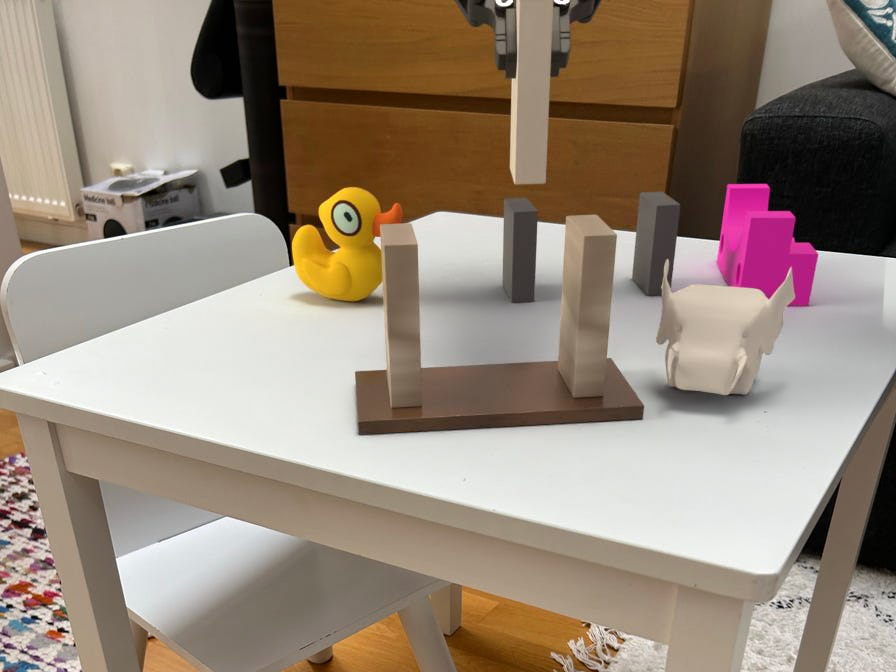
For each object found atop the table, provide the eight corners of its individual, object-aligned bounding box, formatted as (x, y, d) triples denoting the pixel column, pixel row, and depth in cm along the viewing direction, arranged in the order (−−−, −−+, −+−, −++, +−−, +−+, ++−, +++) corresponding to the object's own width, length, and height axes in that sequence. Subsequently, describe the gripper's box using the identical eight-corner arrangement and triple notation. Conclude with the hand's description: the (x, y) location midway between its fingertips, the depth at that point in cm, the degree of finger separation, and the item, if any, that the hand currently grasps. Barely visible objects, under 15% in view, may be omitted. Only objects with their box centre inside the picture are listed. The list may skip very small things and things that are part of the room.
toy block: (808, 305, 90) (825, 217, 86) (737, 305, 91) (751, 217, 86) (778, 262, 102) (792, 183, 98) (716, 262, 103) (727, 184, 99)
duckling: (416, 296, 96) (413, 184, 90) (393, 312, 92) (388, 196, 86) (312, 287, 100) (302, 179, 94) (286, 302, 96) (274, 190, 90)
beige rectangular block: (539, 168, 74) (545, -7, 68) (545, 183, 69) (553, -4, 63) (509, 169, 74) (513, -6, 68) (514, 184, 69) (519, -3, 63)
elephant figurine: (627, 411, 71) (640, 283, 66) (658, 357, 80) (672, 241, 75) (766, 427, 68) (790, 294, 63) (782, 369, 77) (805, 249, 72)
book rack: (610, 370, 78) (623, 206, 71) (643, 419, 70) (662, 239, 63) (355, 383, 77) (344, 219, 70) (358, 434, 69) (346, 254, 62)
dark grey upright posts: (653, 277, 99) (662, 191, 94) (670, 294, 94) (680, 204, 89) (502, 285, 98) (504, 198, 94) (511, 302, 93) (513, 212, 89)
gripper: (425, -200, 66) (427, 29, 63) (636, -210, 65) (649, 21, 62) (428, -98, 73) (430, 112, 70) (618, -105, 72) (628, 105, 69)
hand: (533, 68), depth 66 cm, fingers closed on beige rectangular block, 2 cm apart
